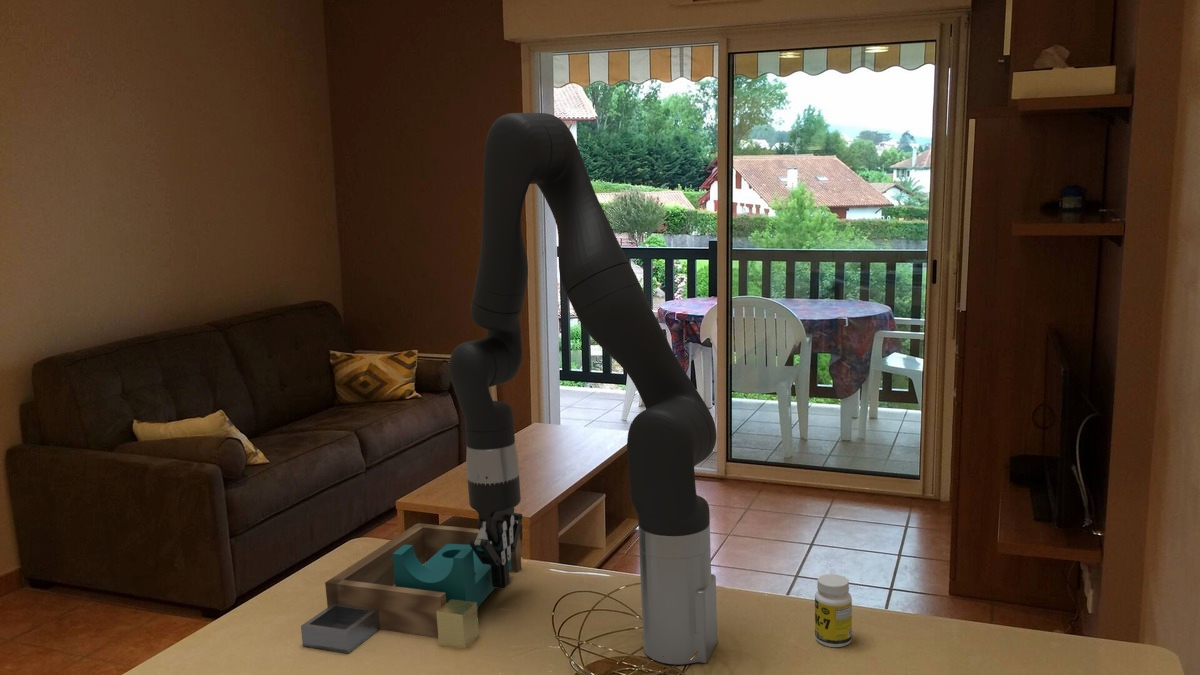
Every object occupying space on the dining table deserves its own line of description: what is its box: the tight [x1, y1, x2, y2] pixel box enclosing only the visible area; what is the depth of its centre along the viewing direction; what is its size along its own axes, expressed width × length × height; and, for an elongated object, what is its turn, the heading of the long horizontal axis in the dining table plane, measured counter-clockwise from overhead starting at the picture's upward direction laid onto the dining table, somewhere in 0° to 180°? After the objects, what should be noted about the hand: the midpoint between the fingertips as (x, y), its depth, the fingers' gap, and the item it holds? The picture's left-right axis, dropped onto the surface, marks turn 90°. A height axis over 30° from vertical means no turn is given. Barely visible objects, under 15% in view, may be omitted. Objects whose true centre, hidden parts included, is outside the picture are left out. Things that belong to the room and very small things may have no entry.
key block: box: [436, 599, 480, 650], centre depth 132 cm, size 4×4×5 cm
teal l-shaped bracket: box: [392, 544, 512, 608], centre depth 145 cm, size 18×11×10 cm, turn 165°
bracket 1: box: [324, 522, 522, 638], centre depth 147 cm, size 19×25×6 cm
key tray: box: [300, 603, 381, 654], centre depth 134 cm, size 8×8×3 cm
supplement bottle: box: [814, 573, 853, 648], centre depth 127 cm, size 5×5×8 cm
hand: (501, 585), depth 143 cm, fingers closed
